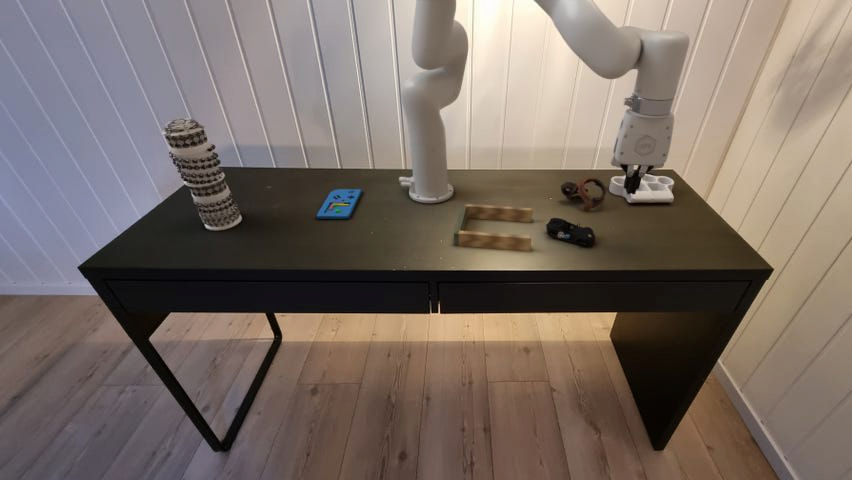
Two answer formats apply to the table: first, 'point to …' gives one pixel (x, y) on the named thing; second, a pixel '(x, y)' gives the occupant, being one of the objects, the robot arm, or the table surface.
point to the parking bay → (492, 238)
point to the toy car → (570, 232)
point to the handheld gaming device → (339, 204)
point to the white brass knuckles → (645, 189)
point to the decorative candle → (202, 173)
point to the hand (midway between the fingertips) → (630, 191)
